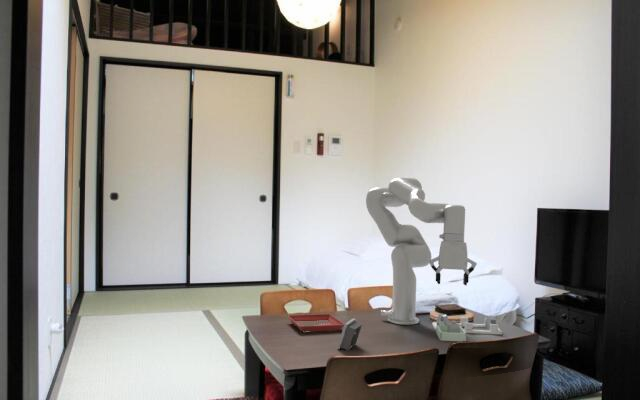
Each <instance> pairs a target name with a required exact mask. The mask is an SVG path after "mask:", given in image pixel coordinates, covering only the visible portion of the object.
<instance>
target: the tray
mask: <svg viewBox="0 0 640 400" xmlns="http://www.w3.org/2000/svg"><path fill="white" fill-rule="evenodd" d="M463 329H464V328H463V327H461V326H459V333H450V332H447V330H448V326H445V325H436V330H435V333H436V335H437V337H438V340H439V341H445V342H446V341H447V342H462V341H466V342H467V333H465V331H464V330H463Z"/></svg>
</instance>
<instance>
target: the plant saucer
mask: <svg viewBox="0 0 640 400" xmlns="http://www.w3.org/2000/svg"><path fill="white" fill-rule="evenodd" d="M287 317H288V320H290V321H291V323H292V325H293V326H295V327H296V326H297V327H298V328H299V329H300V332H302V331H304V332H305V331H325V332H331V331H330V330H339V331H340V330H342V329H343V328H344V325H345V323H344V322H342V321H341V320H340V319H338V318H336V317H335V316H333V315H332V314H331V313H320V314H293V315H291V314H290V315H288V316H287ZM317 320H318V321H319V320H328V321H329V322H330V323H331V324H330V323H328V324H327V323H326V324H325V323H323V324H322V323H321V324H319V325H314V326H303V325H302V326H300V325H299V324H298V323H296V322H295V321H317ZM297 327H296V328H297ZM298 328H297V329H298ZM299 329H298V330H299Z"/></svg>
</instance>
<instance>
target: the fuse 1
mask: <svg viewBox="0 0 640 400" xmlns="http://www.w3.org/2000/svg"><path fill="white" fill-rule="evenodd" d="M443 314H444V313H438V315H437V316H438V325H440V321H443V319H442V317H441V316H442V315H443Z"/></svg>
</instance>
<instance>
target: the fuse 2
mask: <svg viewBox="0 0 640 400" xmlns="http://www.w3.org/2000/svg"><path fill="white" fill-rule="evenodd" d="M486 318H487V327H486V330H488V331H490V324H497V319H496V318H495V317H494V316H493V315H486Z"/></svg>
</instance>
